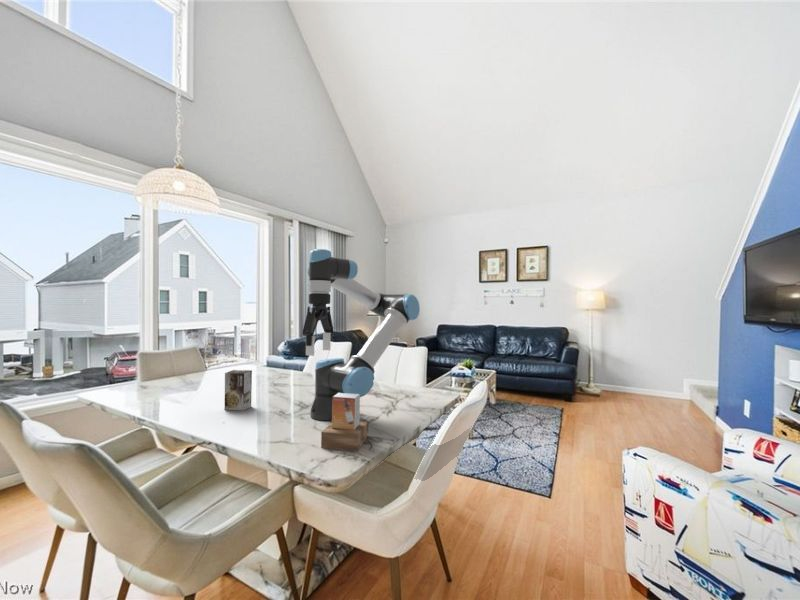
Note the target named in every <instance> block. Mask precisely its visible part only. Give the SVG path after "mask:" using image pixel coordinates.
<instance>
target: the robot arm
mask: <svg viewBox="0 0 800 600" xmlns="http://www.w3.org/2000/svg"><path fill="white" fill-rule="evenodd" d="M308 260H309V261H308V264H309V265H308V267H307V275H308V278H309V279H308V280H309V281H308V285H307V286H308V291H309V294H308V304H310V305H311V306H307V313H306V317H305V320H304V325H303V328H302V336H303V337H305V356H307V357H308V356H315V339H316V338H315V335H314V334H315V333H316V328H317V326H318V323H319V321H320V324H321V326H322V329H323V333H322V351H330V350H331V333H334V326H333V325H334V324H333V319H332V315H331V306H327V305H331V294H330V293H331V290H332V289H331V287H332V288H333V289H335V290H336V291H339V292H340V293H343V294H344V295H345V296H348V297H350V298H351V299H353V300H355V301H357V302H359V303H360V304H361V305H364V307H365V309H367V310H369V311H370V312H372V313H374V314H375V315H378V316H379V317H382V318H383V319H382V320H381V321H380V322H379V324H378V325H377V327H376V328H375V330H373V332H372V334H371V335H370V336H369V338H368V339H367V340H366V341H365V343H364V344H363V345H362V347H361V348H360V349H359V351H358V353H357V354H356V355H350V357H349V359H348V360H347V362H345V359H344V358H342V357H337V358H327V359H320V360H317V362H315V370H314V372H315V375H314V376H315V379H314V381H315V383H314V385H315V386H314V387H315V388H314V399H313V402H312V404H311V407H310V413H309V414H310V418H312V419H313V420H316V421H332V404H333V396H335V395H336V394H337V393H348V394H360V398H362V397H364V396H366V395H367V394H369V393H370V392H371V390H372V389H373V386H374V383H375V382H374V381H375V366H376V364H377V363H378V362H379V360H380V358H381V357H382V356H383V354H384V353H385V351H387V348H388V347H389V345H390V344H391V342H392V341H393V340H394V338H395V336H396V334H398V332H399V330H400V329H401V328H405V327H406V326H407V325H408V323H409V321H410V320H411V321H414V320H416V319H418V317H419V315H420V303H419V299H418V298H417V297H416V296H415V295H414V294H410V293H409V294H408V293H405V294H403V293H401V294H397V293H396V294H387V293H386V294H384V293H381V292H379V291H377V290H372V289H370V288H369V287H367V286H365V285H363V284H362V283H360V282H359V281H357V280H355V278H356V277H357V275H358V270H359V269H358V268H359V267H358V264H357V262H355V261H354V260H350V259H349V258H348V259H345V258H339V257H333V256H332V251H331V250H328V249H326V248H325V249H324V248H323V249H321V248H314V249H312V250H310V253H309V259H308Z"/></svg>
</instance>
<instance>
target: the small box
mask: <svg viewBox="0 0 800 600" xmlns="http://www.w3.org/2000/svg"><path fill="white" fill-rule="evenodd" d="M360 404H361V397H360V394H348V393H337V394H336V395H335V396H333V404H332V420H331V423H332V428H339V429H348V430H355V429H356V427H357V426H358V425H359V421H360V415H361V414H360V413H361V412H360V410H361V409H360V408H361V405H360Z"/></svg>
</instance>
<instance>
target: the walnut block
mask: <svg viewBox="0 0 800 600" xmlns="http://www.w3.org/2000/svg"><path fill="white" fill-rule="evenodd" d="M320 434H321V436H320V439H321V440H320V445H321V446H320V448H321V449H331V450H339V451H340V450H341V451H342V450H343V451H352V452H358V451H359V449H360V448H361V446H363V444H364V442H365V440H366V439H367V438H368V437H367V436H368V435H369V421H366V420H365V421H363V420H359V425H358V426H357V427H356V429H355V430H348V429H339V428H332V422H331V423H329V424H328V425H327V426H326V427H325V428H324V429H323V430H322V431H321V433H320Z"/></svg>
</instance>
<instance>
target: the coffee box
mask: <svg viewBox="0 0 800 600" xmlns="http://www.w3.org/2000/svg"><path fill="white" fill-rule="evenodd" d="M252 374H253V371H252V370H249V369H247V370H244V369H242V370H241V369H237V370H236V369H233V370H230V371H228V372H224V411H245V410H247V409H249V408H251V407H252V388H253V387H252V384H253V383H252V380H253V378H252V377H253V375H252Z"/></svg>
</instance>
